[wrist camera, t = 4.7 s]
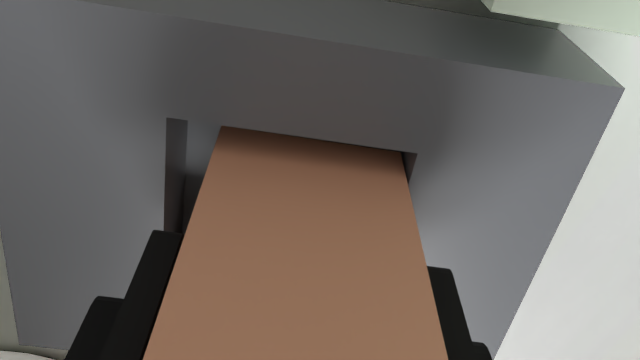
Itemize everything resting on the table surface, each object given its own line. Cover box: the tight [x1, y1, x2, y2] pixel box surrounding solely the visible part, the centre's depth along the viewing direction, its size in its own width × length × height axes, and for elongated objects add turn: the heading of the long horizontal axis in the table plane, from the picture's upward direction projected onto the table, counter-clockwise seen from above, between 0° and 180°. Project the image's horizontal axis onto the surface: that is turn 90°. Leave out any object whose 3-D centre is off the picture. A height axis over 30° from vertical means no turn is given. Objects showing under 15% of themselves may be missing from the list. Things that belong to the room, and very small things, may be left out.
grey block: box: [0, 0, 625, 360], centre depth 14 cm, size 12×9×4 cm
